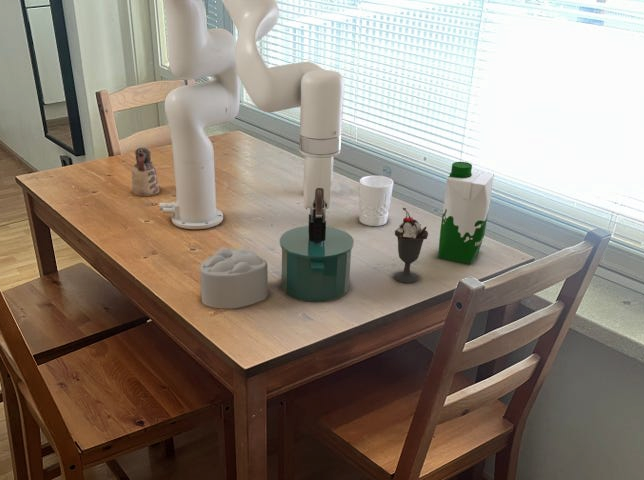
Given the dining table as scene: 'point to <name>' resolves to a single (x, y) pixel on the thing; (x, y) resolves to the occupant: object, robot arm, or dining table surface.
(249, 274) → the lumpy-topped squat cylinder
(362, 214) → the white cup
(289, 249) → the lid
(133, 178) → the figurine
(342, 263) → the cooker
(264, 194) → the dining table surface
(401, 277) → the sundae
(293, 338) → the dining table surface
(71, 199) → the dining table surface
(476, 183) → the milk carton
